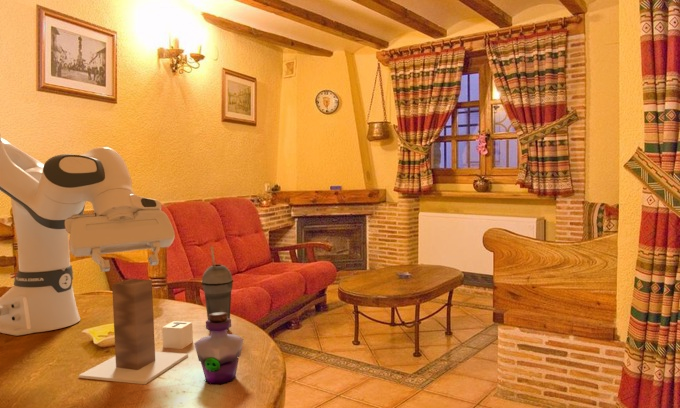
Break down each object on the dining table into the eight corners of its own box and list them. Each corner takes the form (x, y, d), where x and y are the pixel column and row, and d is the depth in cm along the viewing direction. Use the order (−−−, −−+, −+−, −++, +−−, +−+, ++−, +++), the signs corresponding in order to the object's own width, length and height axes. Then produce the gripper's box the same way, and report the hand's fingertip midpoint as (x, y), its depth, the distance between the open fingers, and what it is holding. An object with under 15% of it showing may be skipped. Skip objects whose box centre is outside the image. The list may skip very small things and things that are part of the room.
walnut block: (116, 367, 97) (112, 284, 96) (134, 358, 102) (130, 278, 101) (137, 370, 96) (133, 285, 95) (155, 360, 100) (151, 279, 99)
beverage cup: (227, 335, 117) (224, 248, 115) (197, 334, 118) (194, 248, 117) (239, 326, 124) (237, 243, 122) (211, 324, 125) (208, 243, 124)
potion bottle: (194, 391, 87) (191, 321, 86) (196, 372, 96) (194, 308, 95) (246, 385, 89) (243, 317, 88) (243, 367, 97) (241, 305, 97)
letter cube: (163, 347, 110) (162, 326, 109) (174, 341, 114) (173, 320, 114) (182, 349, 108) (181, 327, 108) (192, 342, 113) (192, 321, 113)
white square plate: (78, 377, 94) (78, 375, 94) (128, 351, 107) (128, 349, 107) (145, 384, 90) (145, 381, 90) (188, 356, 104) (187, 353, 104)
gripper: (64, 206, 102) (75, 265, 95) (167, 200, 114) (183, 252, 107) (61, 224, 106) (72, 282, 100) (161, 217, 118) (176, 268, 112)
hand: (131, 266), depth 104 cm, fingers open, 8 cm apart
